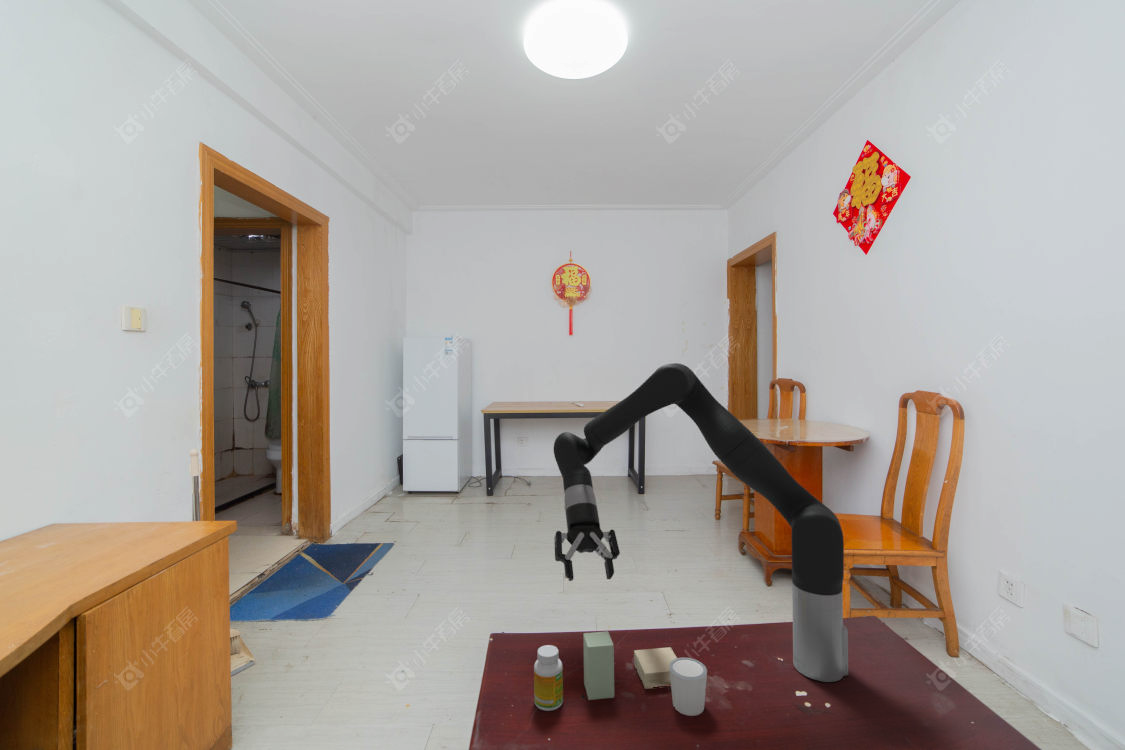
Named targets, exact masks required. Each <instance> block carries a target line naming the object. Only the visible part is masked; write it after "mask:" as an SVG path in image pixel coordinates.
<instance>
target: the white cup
mask: <svg viewBox="0 0 1125 750" xmlns="http://www.w3.org/2000/svg"><path fill="white" fill-rule="evenodd" d="M669 670H670V680H671V686H670V688H671V696H672V706H673V708H674V707H675V708H674V709H675V710H676V711H678V713H680V714H682V715H685V716H690V717H691V716H692V717H694V716H699V715H700V714H702V713H704V710H705V703H706V701H705V700H706V687H707V678H708V677H707V676H708V669H707V667H706V665H705V664H703V662H701V661H699V660H697V659H696V658H695V659H694V658H690V657H677V659H674V660H673V661H671V662H670V664H669Z"/></svg>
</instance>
